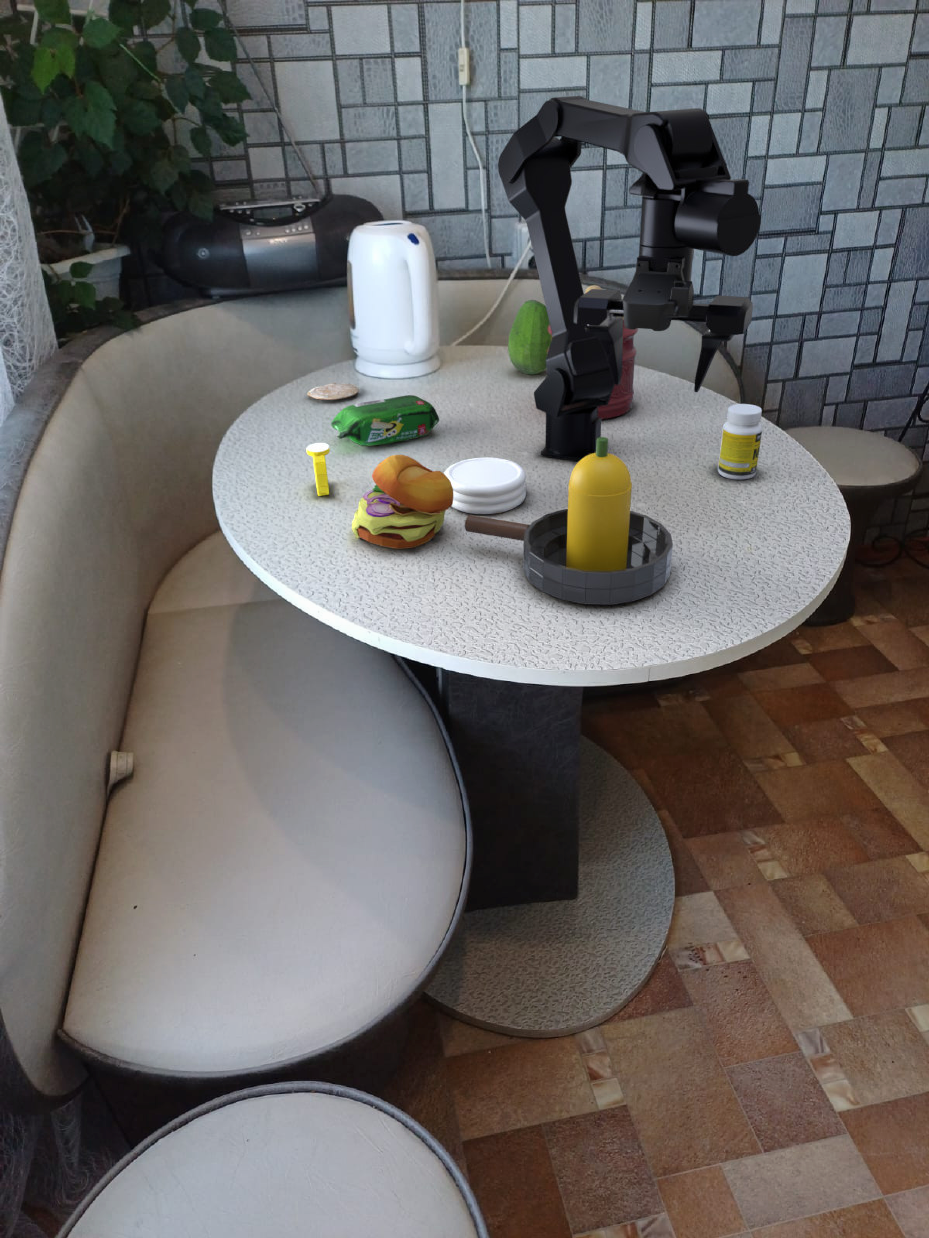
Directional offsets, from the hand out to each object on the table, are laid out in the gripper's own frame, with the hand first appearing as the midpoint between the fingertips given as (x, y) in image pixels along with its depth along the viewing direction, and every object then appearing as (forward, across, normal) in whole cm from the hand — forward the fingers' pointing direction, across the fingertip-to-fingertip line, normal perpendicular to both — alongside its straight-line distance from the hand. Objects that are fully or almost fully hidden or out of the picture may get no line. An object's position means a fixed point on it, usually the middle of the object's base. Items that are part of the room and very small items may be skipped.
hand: (656, 387), depth 107 cm
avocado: (+12, -30, +40) cm, 52 cm away
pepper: (+13, 0, -22) cm, 25 cm away
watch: (+13, -38, -14) cm, 43 cm away
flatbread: (+12, -56, +19) cm, 61 cm away
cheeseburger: (+13, -23, -21) cm, 34 cm away
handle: (+11, -11, -22) cm, 27 cm away
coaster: (+13, -18, -9) cm, 24 cm away
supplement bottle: (+13, +9, +9) cm, 18 cm away
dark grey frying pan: (+13, 0, -22) cm, 25 cm away
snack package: (+13, -39, +5) cm, 41 cm away
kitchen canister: (+13, -16, +27) cm, 34 cm away
